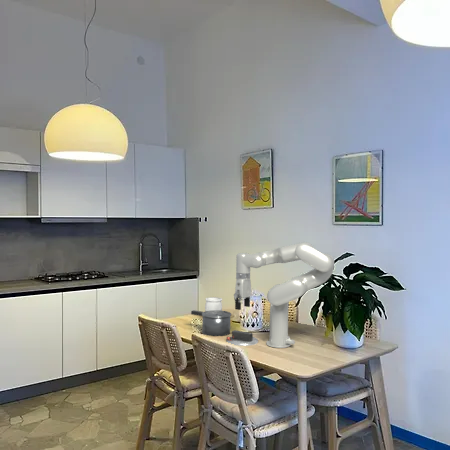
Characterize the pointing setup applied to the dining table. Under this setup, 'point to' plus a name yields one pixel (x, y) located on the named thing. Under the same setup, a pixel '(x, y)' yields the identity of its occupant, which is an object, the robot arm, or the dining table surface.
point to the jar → (213, 304)
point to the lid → (242, 338)
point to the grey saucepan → (214, 322)
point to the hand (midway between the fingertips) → (242, 308)
